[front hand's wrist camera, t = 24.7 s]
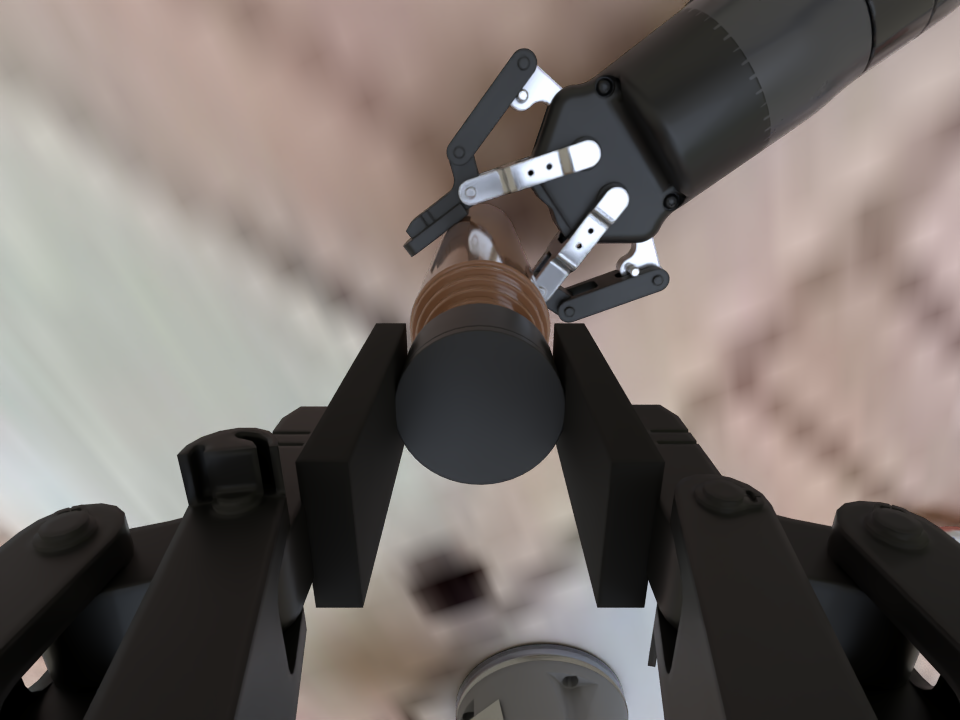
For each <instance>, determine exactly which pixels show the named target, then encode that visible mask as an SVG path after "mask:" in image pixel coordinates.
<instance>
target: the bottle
mask: <svg viewBox="0 0 960 720" xmlns="http://www.w3.org/2000/svg"><path fill="white" fill-rule="evenodd" d="M476 303H483V304H493V305H499V306H502V307H505V308H509V309H511V310H513V311H515V312H517V313H519V314H521V315H522V316H524V317H525V318H527V319H528V320H529V321H530V322H532V323H533V324H534V325H535V326H536V327H537V328H538V330H539V331H540V332H541V333H542V335H543V336H544V338H545V339H546V341H547V343H548V342H549V336H550V317H549V312H548V308H547V305H546V303H545V300H544V298H543V295H542V293H541V291H540V288H539V286H538V283H537V281H536V279H535V276H534V274H533V272H532V269H531V267H530V264H529V262H528V260H527V257H526V255H525V252H524V250H523V248H522V245H521V243H520V240H519V238H518V236H517V233H516V231H515V229H514V226H513V224H512V222H511V220H510V219H509V217H508V216H507V215H506V214H505V213H504V212H503V211H502V210H501V209H499V208H497V207H496V206H493V205H490V204H486V203H478V204H475V205H473V206H472V207H471V208H469V215H467V216H466V217H465V218H463V219H462V220H461V221H459V222H458V223H457V224H455V225H454V226H452V227H451V228H450V229H449V230H447V231H446V232H445V233H443V236H442V238H441V241H440V243H439V245H438V248H437V250H436V252H435V255H434V257H433V260H432V262H431V264H430V267H429V269H428V271H427V274H426V276H425V279H424V281H423V283H422V286H421V288H420V290H419V293H418V295H417V298H416V300H415V303H414V305H413V308H412V312H411V317H410V337H411V342H412V343H413V341H414V339H415V338H416V336H417V335H418V333H419V332H420V331H421V330H422V328H423V327H424V326H425V325H426V324H427V323H429V322H430V321H431V320H432V319H433V318H435V317H436V316H438V315H439V314H441V313H443V312H445V311H447V310H449V309H452V308H455V307H458V306H462V305H466V304H476Z"/></svg>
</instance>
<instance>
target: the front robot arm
mask: <svg viewBox="0 0 960 720" xmlns="http://www.w3.org/2000/svg"><path fill="white" fill-rule="evenodd" d="M407 355H408V354H407V335H406V323H376V325H375V326H374V328H373V330H372V332H371V333H370V335H369V337H368V338H367V340H366V342H365V344H364V345H363V347H362V349H361V350H360V352H359V354H358V356H357V357H356V359H355V361H354V362H353V364H352V366H351V367H350V369H349V371H348V373H347V374H346V376H345V378H344V379H343V381H342V383H341V385H340V386H339V388H338V390H337V391H336V393H335V395H334V397H333V398H332V400H331V402H330V403H329V405H328V407H299V408H298V409H296V410H295V411H293V412H291V413H290V414H288V415H287V416H285V417H283V418H282V419H281V421H280V422H279V424H278V425H277V426H276V428H275V429H274V430H273V434H272V433H271V432H270V431H267V430H262V429H258V428H235V429H229V430H223V431H218V432H215V433H212V434H209V435H206V436H203V437H201V438H199V439H197V440H196V441H194V442H192V443H190V444H188V445H187V446H186V447H185V448H184V449H183V450H182V451H181V452H180V453H179V454H178V455H177V457H178V461H179V465H180V470H181V474H182V478H183V482H184V487H185V491H186V495H187V499H188V504H189V506H188V508H187V510H186V512H185V514H184V516H183V518H180V519H176V520H172V521H167V522H162V523H157V524H152V525H147V526H142V527H137V528H132V529H129V527H128V524H127V520H126V517H125V513H124V512H123V511H122V510H121V509H119V508H118V507H117V506H114V505H108V504H103V503H100V504H88V505H78V506H73V507H72V508H65V509H62V510H59V511H57V512H55V513H54V514H51V515H49V516H47V517H44V518H42V519H40V520H38V521H36V522H34V523H33V524H31V525H30V526H28V527H27V528H25V529H23V530H22V531H20V532H19V533H18V534H16V535H15V536H14V537H12V538H11V539H10V540H9V541H7V542H6V543H5V544H4V545H2V546H1V547H0V720H296V712H297V704H298V696H299V688H300V680H301V672H302V663H303V655H304V647H305V639H306V631H307V629H306V621H305V614H304V608H303V605H304V602H305V600H306V597H307V595H308V592H309V589H310V587H311V584H312V583H313V590H314V597H315V604H316V608H363V605H364V601H365V597H366V594H367V590H368V586H369V582H370V578H371V574H372V570H373V566H374V562H375V558H376V554H377V550H378V546H379V542H380V538H381V534H382V530H383V526H384V523H385V519H386V515H387V511H388V507H389V503H390V499H391V495H392V491H393V487H394V483H395V479H396V475H397V471H398V467H399V463H400V459H401V455H402V452H403V448H404V443H403V441H402V439H401V437H400V435H399V432H398V429H397V421H396V406H395V392H396V388H397V385H398V381H399V379H400V376H401V373H402V370H403V367H404V364H405V361H406V358H407ZM553 359H554V362H555V364H556V367H557V370H558V373H559V376H560V379H561V382H562V385H563V388H564V392H565V412H564V425H563V430H562V432H561V434H560V437H559V439H558V441H557V442H556V446H557V450H558V454H559V458H560V462H561V466H562V470H563V474H564V478H565V482H566V486H567V490H568V493H569V497H570V501H571V505H572V509H573V513H574V517H575V521H576V525H577V529H578V533H579V537H580V541H581V545H582V549H583V553H584V557H585V561H586V564H587V568H588V572H589V576H590V580H591V584H592V588H593V592H594V596H595V600H596V604H597V608H644V606H645V599H646V592H647V585H648V580H649V583H650V586H651V588H652V591H653V593H654V596H655V598H656V601H657V608H656V614H655V621H654V627H653V634H652V640H651V647H650V653H649V660H648V666H653V667H655V665H656V659H657V662H658V670H659V678H660V687H661V695H662V703H663V711H664V719H665V720H960V543H959V542H958V541H956V540H955V539H954V538H953V537H951V536H950V535H949V534H947V533H946V532H945V531H944V530H942V529H941V528H939V527H938V526H936V525H934V524H933V523H931V522H930V521H928V520H926V519H925V518H923V517H921V516H919V515H916V514H914V513H911V512H909V511H907V510H906V509H904V508H901V507H898V506H895V505H892V506H891V505H889V504H886V503H881V502H868V501H856V502H850V503H845V504H844V505H842V506H841V507H840V508H839V509H838V510H837V511H836V515H835V518H834V522H833V525H832V527H831V526H826V525H821V524H816V523H811V522H806V521H801V520H795V519H791V518H787V517H783V516H779V515H776V513H775V511H774V509H773V507H772V505H771V504H770V502H769V501H768V500H767V499H766V498H765V496H764V495H763V494H762V493H760V492H759V491H757V490H756V489H754V488H753V487H751V486H750V485H748V484H746V483H743V482H741V481H738V480H735V479H733V478H730V477H725V476H722V475H721V474H720V473H719V471H718V470H717V468H716V467H715V466H714V464H713V463H712V462H711V460H710V459H709V458H708V456H707V455H706V453H705V452H704V451H703V449H702V448H701V447H700V445H699V444H697V443H696V440H695V438H694V437H693V436H692V434H691V433H688V429H687V428H686V426H685V425H684V423H683V422H682V421H681V419H680V418H679V417H678V416H677V415H675V414H674V413H672V412H671V411H669V410H667V409H666V408H664V407H663V406H661V405H632V404H631V403H630V401H629V399H628V398H627V396H626V394H625V392H624V391H623V389H622V387H621V386H620V384H619V382H618V380H617V379H616V377H615V375H614V374H613V372H612V370H611V369H610V367H609V365H608V363H607V362H606V360H605V358H604V357H603V355H602V353H601V351H600V350H599V348H598V346H597V345H596V343H595V341H594V339H593V338H592V336H591V334H590V333H589V331H588V329H587V328H586V326H585V324H584V323H554V342H553ZM919 653H921V654H922V655H923V656H924V657H925V658H926V660H927V661H928V662H929V663H930V664H931V665H932V666H933V667H934V668H935V669H936V670H937V671H938V673H939V674H940V677H939V679H938V681H937V684H936V685H935V686H931V685H930V684H929V683H928V682H927V681H926V680H925V679H924V678H923V677H922V676H921V675H920V674H919V673H918V672H917V671H916V670H915V668H914V665H915V663H916V660H917V658H918V655H919ZM41 656H42V657H43V659H44V662H45V664H46V667H47V669H48V670H47V671H46V672H45V673H44V674H43V676H42V677H41V678H40V679H39V680H38V681H37V682H36V683H34V684H33V685H32V686H31V687H29V688H27V687H26V686H25V685H24V682H23V680H22V678H21V677H22V676H23V675H24V674H25V673H26V672H27V671H28V670H29V669H30V668H31V666H32V665H33V664H34V663H35V662H36V661H37V660H38V659H39V658H40V657H41ZM456 720H628V709H627V705H626V701H625V697H624V693H623V689H622V687H621V684H620V682H619V680H618V678H617V677H616V675H615V674H614V672H613V671H612V670H611V669H610V668H609V667H608V666H607V665H606V664H605V663H603V662H602V661H600V660H599V659H597V658H596V657H594V656H592V655H590V654H588V653H586V652H583V651H581V650H578V649H574V648H571V647H566V646H560V645H550V644H536V645H527V646H521V647H516V648H512V649H509V650H506V651H503V652H500V653H498V654H496V655H494V656H492V657H490V658H488V659H487V660H485V661H483V662H482V663H481V664H479V665H478V666H477V667H476V668H474V669H473V670H472V671H471V672H470V674H469V675H468V676H467V677H466V679H465V680H464V682H463V683H462V685H461V687H460V690H459V692H458V696H457V704H456Z"/></svg>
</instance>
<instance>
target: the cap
mask: <svg viewBox="0 0 960 720" xmlns="http://www.w3.org/2000/svg"><path fill="white" fill-rule="evenodd" d="M395 406H396V421H397V429H398V432H399V435H400V437H401V439H402V441H403V443H404V444H405V446H406V447H407V449H408V450H409V452H410V453H411V454H412V455H413V456H414V457H415V459H417V460H418V461H419V462H420V463H421V464H422V465H423V466H425V467H426V468H428V469H429V470H430V471H432V472H434V473H436V474H438V475H439V476H442V477H444V478H447V479H449V480H452V481H456V482H460V483H466V484H477V485H484V484H494V483H500V482H504V481H507V480H511V479H514V478H516V477H518V476H520V475H523V474H524V473H526V472H528V471H530V470H531V469H533V468H534V467H535V466H537V465H538V464H539V463H540V462H541V461H542V460H543V459H544V458H545V457H546V456H547V455H548V454H549V453H550V451H551V450H552V449H553V448H554V446H555V444H556V442H557V441H558V439H559V437H560V434H561V432H562V430H563V425H564V412H565V392H564V388H563V385H562V382H561V379H560V376H559V373H558V370H557V367H556V364H555V362H554V359H553V356H552V353H551V350H550V347H549V345H548V343H547V341H546V339H545V338H544V336H543V335H542V333H541V332H540V331H539V330H538V328H537V327H536V326H535V325H534V324H533V323H532V322H530V321H529V320H528V319H527V318H525V317H524V316H522V315H521V314H519V313H517V312H515V311H513V310H511V309H509V308H505V307H502V306H499V305H493V304H483V303H476V304H466V305H462V306H458V307H455V308H452V309H449V310H447V311H445V312H443V313H441V314H439V315H438V316H436V317H435V318H433V319H432V320H431V321H430V322H429V323H427V324H426V325H425V326H424V327H423V328H422V330H421V331H420V332H419V333H418V335H417V336H416V338H415V339H414V341H413V343H412V345H411V348H410V350H409V353H408V355H407V358H406V361H405V364H404V367H403V370H402V373H401V376H400V379H399V381H398V385H397V388H396V392H395Z"/></svg>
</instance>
